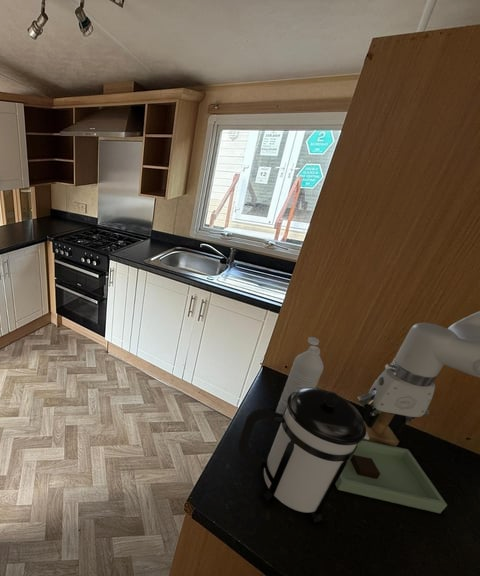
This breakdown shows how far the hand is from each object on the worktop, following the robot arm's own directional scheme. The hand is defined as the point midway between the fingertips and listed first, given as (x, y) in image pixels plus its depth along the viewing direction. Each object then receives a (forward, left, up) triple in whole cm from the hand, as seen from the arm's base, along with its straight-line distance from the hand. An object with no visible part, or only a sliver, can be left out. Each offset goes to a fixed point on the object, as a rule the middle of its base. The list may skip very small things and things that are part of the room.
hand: (380, 425), depth 82 cm
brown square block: (+7, +11, -5) cm, 14 cm away
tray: (+5, +11, -5) cm, 13 cm away
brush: (0, 0, -5) cm, 5 cm away
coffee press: (+27, +21, -6) cm, 35 cm away
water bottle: (+20, -3, -6) cm, 21 cm away
